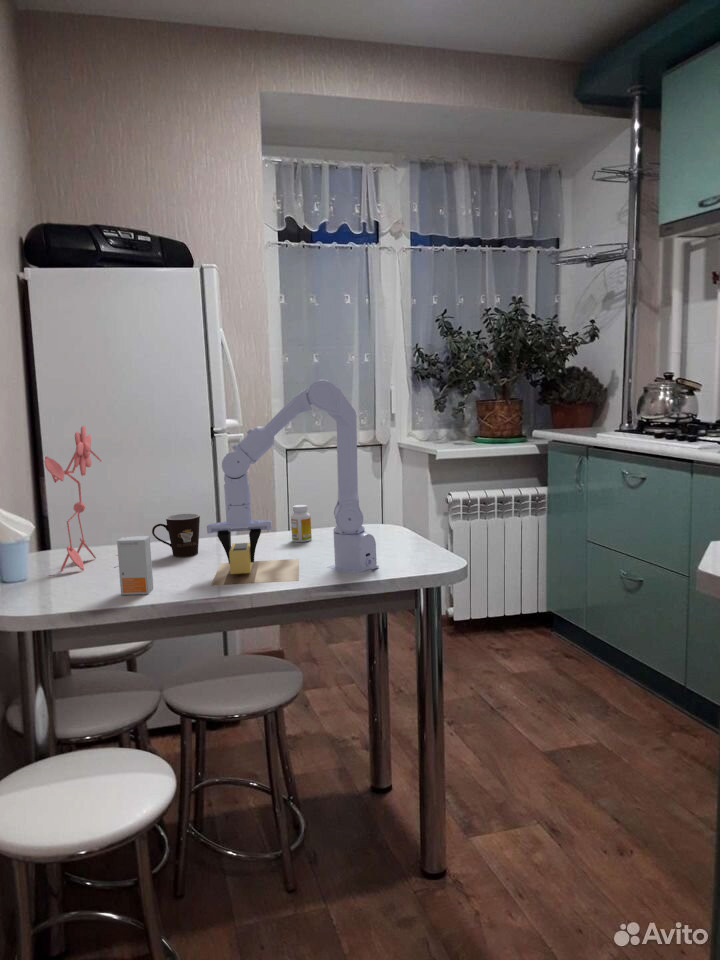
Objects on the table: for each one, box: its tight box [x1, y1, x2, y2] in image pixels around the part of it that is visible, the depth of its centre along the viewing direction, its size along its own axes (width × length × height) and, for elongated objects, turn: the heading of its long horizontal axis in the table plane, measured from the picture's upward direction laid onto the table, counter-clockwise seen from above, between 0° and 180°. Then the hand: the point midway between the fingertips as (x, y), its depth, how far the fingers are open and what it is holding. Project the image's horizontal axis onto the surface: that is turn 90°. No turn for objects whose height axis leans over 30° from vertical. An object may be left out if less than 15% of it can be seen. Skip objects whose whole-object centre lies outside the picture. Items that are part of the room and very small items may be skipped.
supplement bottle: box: [290, 504, 312, 543], centre depth 208 cm, size 5×5×10 cm
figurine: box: [44, 425, 119, 577], centre depth 187 cm, size 15×26×35 cm, turn 2°
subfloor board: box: [210, 558, 300, 586], centre depth 174 cm, size 19×20×1 cm
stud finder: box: [229, 542, 253, 574], centre depth 174 cm, size 4×9×5 cm, turn 4°
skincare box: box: [116, 535, 154, 596], centre depth 162 cm, size 6×4×12 cm
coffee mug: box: [151, 513, 201, 558], centre depth 197 cm, size 12×9×10 cm
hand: (241, 562), depth 174 cm, fingers closed on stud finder, 4 cm apart
